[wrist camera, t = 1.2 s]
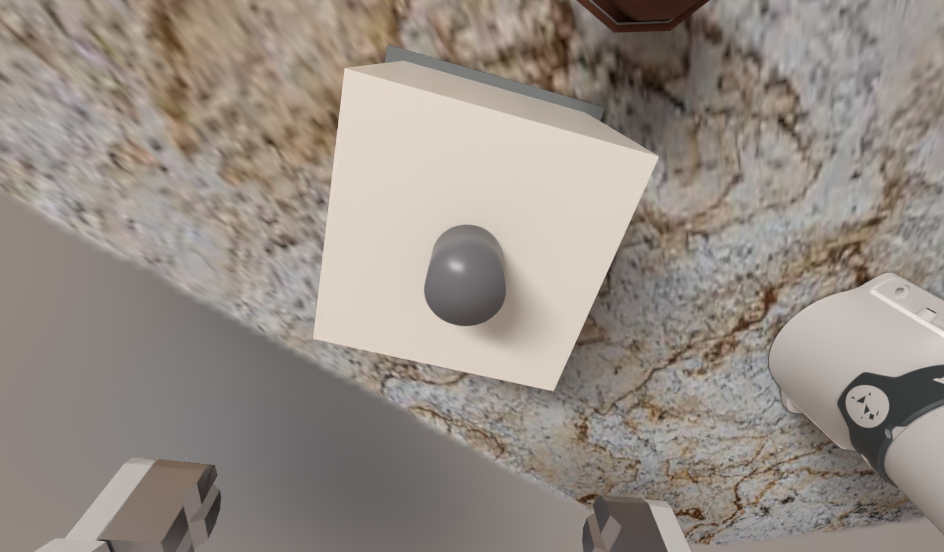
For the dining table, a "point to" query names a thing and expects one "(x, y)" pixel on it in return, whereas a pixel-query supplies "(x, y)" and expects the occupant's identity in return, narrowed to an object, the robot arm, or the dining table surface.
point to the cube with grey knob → (470, 222)
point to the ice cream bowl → (642, 13)
